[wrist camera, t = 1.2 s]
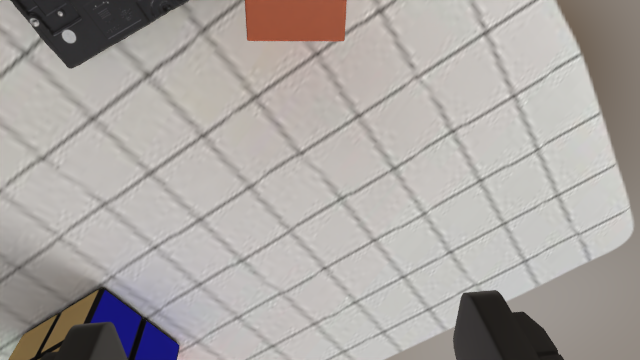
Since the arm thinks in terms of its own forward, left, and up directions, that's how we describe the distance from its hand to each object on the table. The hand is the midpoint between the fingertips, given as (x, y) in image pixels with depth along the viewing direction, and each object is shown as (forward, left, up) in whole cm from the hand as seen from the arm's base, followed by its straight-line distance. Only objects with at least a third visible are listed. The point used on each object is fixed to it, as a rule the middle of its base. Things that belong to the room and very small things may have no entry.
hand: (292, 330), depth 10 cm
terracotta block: (+4, +3, -22) cm, 23 cm away
